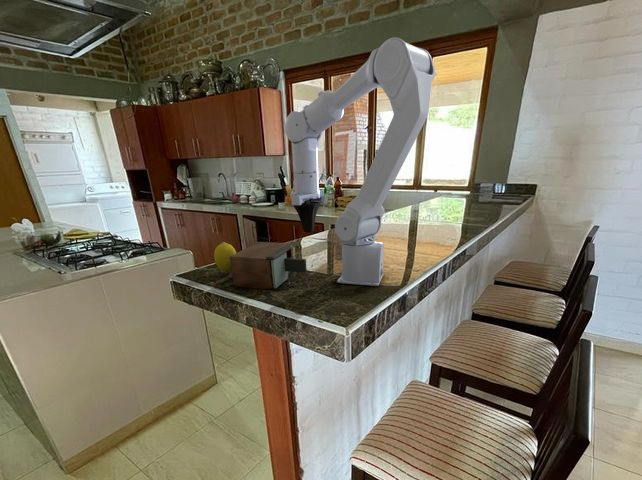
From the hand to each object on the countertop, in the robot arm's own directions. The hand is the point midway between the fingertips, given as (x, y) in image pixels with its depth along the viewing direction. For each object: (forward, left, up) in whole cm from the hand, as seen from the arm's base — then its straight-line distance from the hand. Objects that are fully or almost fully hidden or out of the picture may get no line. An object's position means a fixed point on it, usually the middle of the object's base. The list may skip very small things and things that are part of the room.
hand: (308, 231), depth 84 cm
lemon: (+19, +9, -10) cm, 23 cm away
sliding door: (0, +13, -9) cm, 16 cm away
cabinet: (+8, +10, -9) cm, 16 cm away
